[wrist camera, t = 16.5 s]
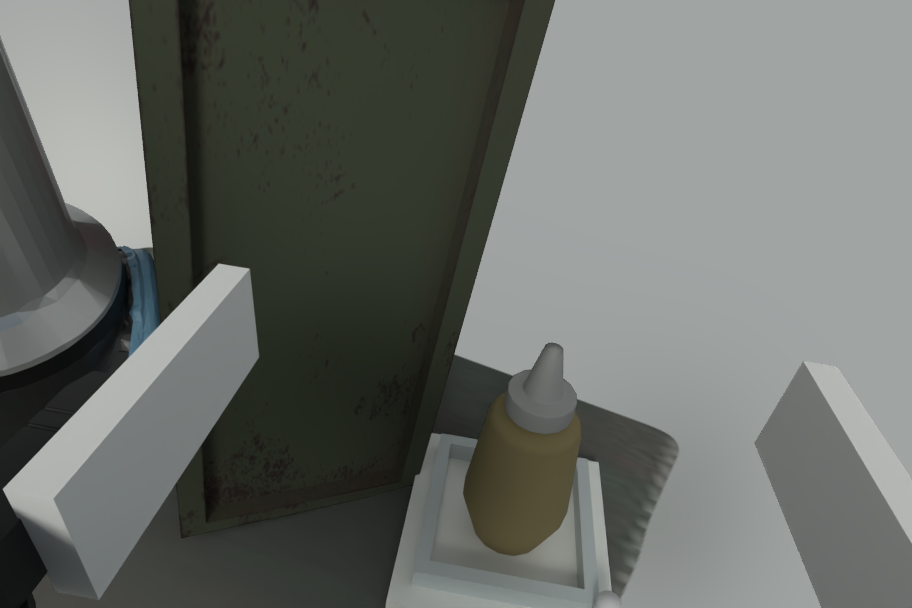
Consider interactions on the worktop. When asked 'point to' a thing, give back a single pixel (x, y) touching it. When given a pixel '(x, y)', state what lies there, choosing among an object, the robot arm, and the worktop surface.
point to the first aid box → (328, 220)
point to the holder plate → (482, 569)
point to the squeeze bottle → (525, 459)
